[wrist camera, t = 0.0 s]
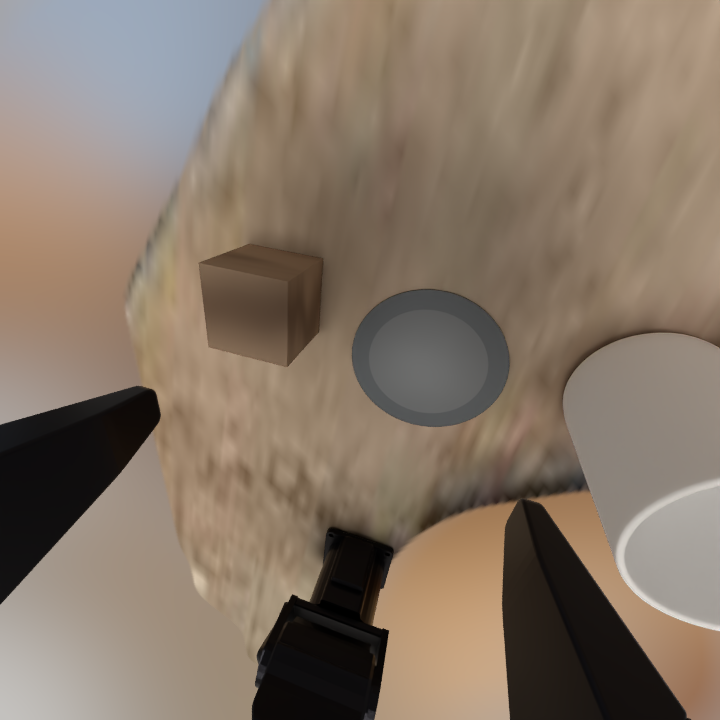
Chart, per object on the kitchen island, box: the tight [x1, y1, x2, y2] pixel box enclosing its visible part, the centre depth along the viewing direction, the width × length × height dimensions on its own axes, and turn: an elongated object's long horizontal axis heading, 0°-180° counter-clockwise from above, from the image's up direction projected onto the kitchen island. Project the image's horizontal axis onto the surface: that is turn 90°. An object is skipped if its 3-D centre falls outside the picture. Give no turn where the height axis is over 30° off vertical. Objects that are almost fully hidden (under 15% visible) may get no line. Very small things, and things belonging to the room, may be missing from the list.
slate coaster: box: [352, 290, 509, 427], centre depth 23 cm, size 10×10×1 cm
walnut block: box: [199, 244, 323, 367], centre depth 21 cm, size 5×5×5 cm
